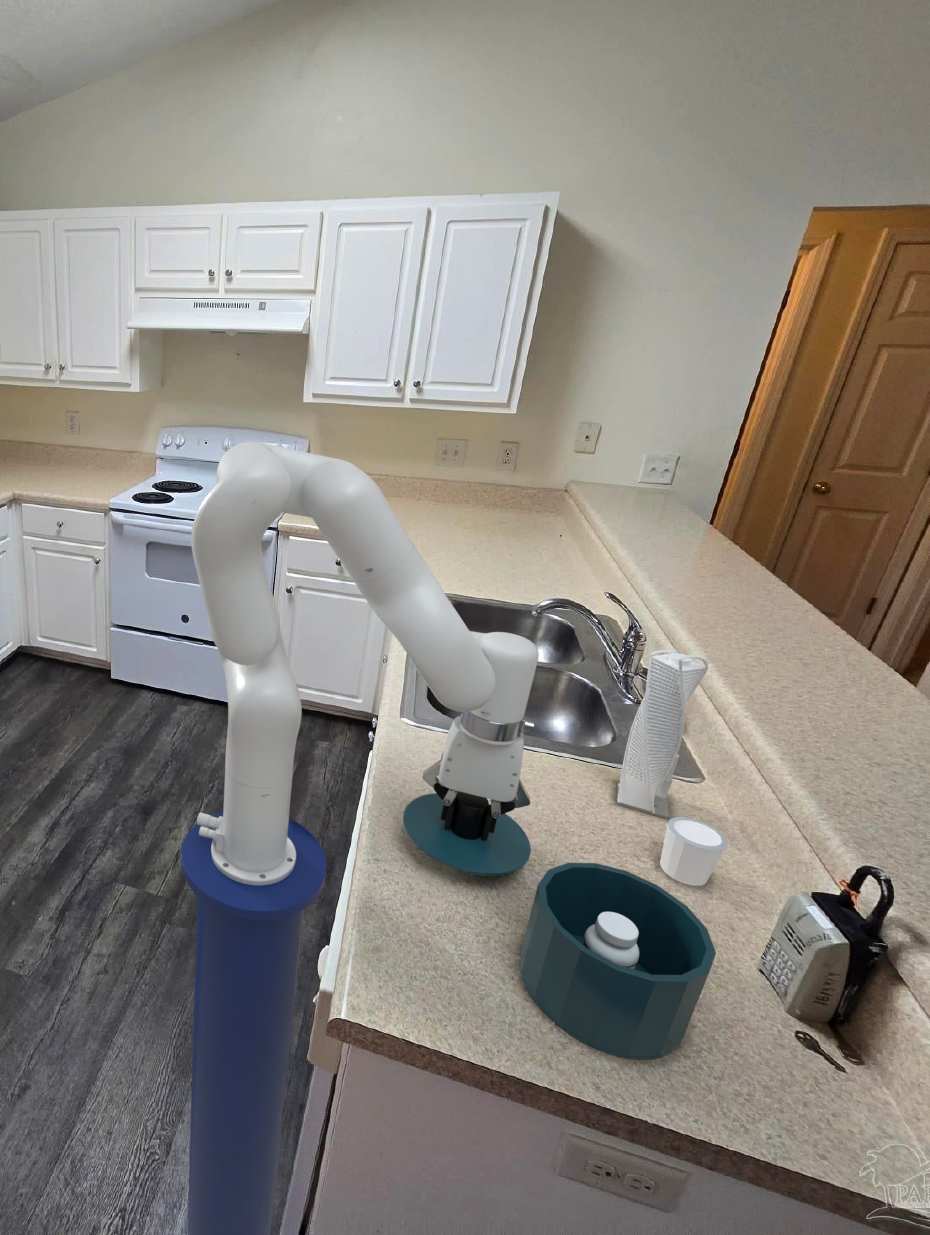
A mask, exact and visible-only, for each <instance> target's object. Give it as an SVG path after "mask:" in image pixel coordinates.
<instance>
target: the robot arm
mask: <svg viewBox="0 0 930 1235" xmlns="http://www.w3.org/2000/svg"><path fill="white" fill-rule="evenodd" d="M283 513H285V514H289V515H293V516H300V517H308V518H311V519H312V520H313V522H314V524H315V525H316V526H317V528H318V529H319V531H320V533H321V534H322V536H323V537H324V539H325V541H326V542H327V543H328V545H329V547H330V548H331V549H332V551H333V552H334V554H335V555H336V557H337V559H339V561H340V563H341V565H342V566H343V567H344V569H345V571H346V572H347V574H349V576H350V578H351V579H352V582H354V584H355V586H356V587H357V589H358V590H359V592H360V593H361V595H362V596H363V598H364V599H365V600H366V602H367V604H368V605H369V607H370V608H371V609H372V611H373V612H374V613H375V615H376V616H377V618H378V619H380V621H381V622H382V623H383V624H384V625H385V627H387V628H388V630H389V631H390V632H391V633H392V635H393V636H394V637H395V639H396V640H397V641H398V643H399V644H400V645H401V648H403V650H404V651H405V652H406V654H407V655H408V657H409V659H410V662H411V663H412V665H413V667H414V669H415V670H416V672H417V673H418V674H419V676H420V678H422V680H423V681H424V682H425V684H426V685H427V686H428V688H429V689H430V691H431V693H432V694H433V695H434V697H435V698H436V699H437V701H438V702H439V703H440V704H441V705H443V706H444V707H445V708H447V709H449V710H452V711H455V712H459V713H460V712H461V715H458V716H456V717H454V719H453V721H452V723H451V725H450V727H449V729H448V733H447V735H446V738H445V742H444V745H443V750H442V753H441V757H440V759H439V760H438V761H436V762H435V763H433V764H432V765H430V766H429V767H428V768H426V769H425V770H424V771H423V772H422V780H423V781H424V782H426V783H427V785H429V787H431V788H432V789H433V792H434V793H437V794H438V796H439V797H440V798H441V799H442V801H443V807H442V812H441V820H445V826H444V829H446V830H448V829H450V826H451V821H452V817H453V812H454V802H455V797H456V795H457V793H458V792H459V791H460V792H464V793H468V794H472V795H476V796H480V797H484V798H487V800H490V803H489V804H490V805H489V806H488V810H487V814H486V818H485V822H484V826H483V830H482V838H483V839H484V840H487V838H488V834H489V832H490V833H494V829H495V825H496V821H497V819H498V818H500V817H501V815H503V814H508V813H509V812H513V811H514V810H515V809H521V808H524V807H529V806H530V805H531V797H530V795H529V793H528V791H527V789H526V787H525V786H524V784H523V783H522V781H521V779H520V778H521V773H522V772H521V771H522V768H523V767H522V766H523V755H524V748H525V735H524V732H534V728H535V722H534V721H531V720H529V719H527V718H526V717H525V714H526V709H527V705H528V702H529V697H530V694H531V689H532V686H533V682H534V678H535V675H536V674H535V673H536V670H537V667H538V666H537V665H538V661H539V656H540V654H539V649H538V647H537V646H536V644H535V643H533V641H531V640H530V639H528V638H526V637H525V636H522V635H518V634H515V633H511V632H504V631H492V632H487V633H486V632H485V633H484V632H479V631H472V630H470V629H469V628H468V627H467V625H466V624H465V622H464V620H463V619H462V617H461V616H460V614H459V613H458V611H457V610H456V608H455V606H454V605H453V604H452V602H451V601H450V599H449V598H448V596H447V595H446V593H445V592H444V590H443V588H442V586H441V584H440V583H439V581H438V579H437V577H435V575H434V573H433V571H432V570H431V568H430V567H429V566H428V564H427V563H426V561H425V559H424V558H423V556H422V554H421V553H420V552H419V550H418V548H417V546H416V545H415V544H414V542H413V541H412V539H411V537H410V535H409V534H408V532H407V531H406V529H405V528H404V526H403V524H402V523H401V521H400V520H399V518H398V516H397V514H396V513H395V511H394V510H393V508H392V506H391V505H390V503H389V501H388V500H387V498H386V497H385V495H384V494H383V492H382V490H381V489H380V487H379V486H378V485H377V483H376V482H375V480H374V479H372V478H371V477H370V476H369V475H368V474H367V473H366V472H365V471H363V470H361V469H360V468H359V467H358V466H356V465H355V464H353V463H351V462H350V461H346V460H343V459H341V458H336V457H330V456H326V455H320V454H316V453H310V452H306V451H303V450H297V449H294V448H293V449H292V448H289V447H283V446H279V445H274V444H269V443H265V442H260V441H245V442H240V443H237V444H235V445H234V446H231V447H230V448H229V449H228V450H227V451H226V452H225V453H224V454H223V455H222V457H221V458H220V460H219V462H218V465H217V469H216V484H215V485H214V486H213V488H212V489H211V490H210V491H209V493H207V495H206V496H205V498H204V499H203V501H202V502H201V504H200V506H199V508H198V510H197V511H196V514H195V517H194V520H193V524H192V528H191V534H190V536H191V537H190V538H191V539H190V542H191V543H190V545H191V551H192V558H193V561H194V566H195V570H196V574H197V579H198V583H199V587H200V591H201V596H202V599H203V603H204V607H205V610H206V616H207V625H208V630H209V633H210V637H211V639H212V641H213V643H214V645H215V646H216V648H217V650H218V654H219V657H220V661H221V665H222V668H223V672H224V678H225V679H224V680H225V686H226V689H225V690H226V696H227V707H228V708H227V710H228V714H227V715H228V718H227V719H228V720H227V733H226V742H225V759H224V769H225V770H224V786H223V788H224V790H223V817H222V816H219V818H216V817H212V816H211V815H212V814H211V815H210V814H207V813H203V812H199V813H198V815H197V819H196V824H197V825H199V826H201V827H200V830H199V835H200V836H203V837H208V838H212V839H213V842H212V846H211V855H212V859H213V862H214V864H215V865H216V867H217V868H218V869H219V870H220V871H221V872H222V873H223V874H224V875H225V876H227V877H228V878H230V879H232V880H234V881H236V882H240V883H243V884H247V885H255V886H263V885H270V884H274V883H277V882H279V881H281V880H283V879H285V878H286V877H287V876H289V874H290V873H291V872H292V871H293V869H294V866H295V862H296V850H295V847H294V845H293V843H292V841H291V840H290V839H289V838H288V837H287V834H288V822H289V819H290V810H291V798H292V786H293V776H294V762H295V753H296V752H295V751H296V746H297V741H298V740H297V739H298V737H299V736H298V735H299V731H300V728H301V722H302V716H303V715H302V714H303V712H302V700H301V695H300V691H299V687H298V683H297V681H296V678H295V675H294V672H293V670H292V668H291V664H290V661H289V658H288V654H287V652H286V648H285V644H284V641H283V635H282V632H281V619H280V613H279V610H278V606H277V602H276V600H275V598H274V594H273V592H272V590H271V588H270V584H269V578H268V575H267V571H266V566H265V565H266V564H265V560H264V555H263V551H262V541H263V538H264V536H265V533H266V532H267V530H268V528H269V527H270V526H271V525H272V524H273V523H274V522H275V521H276V520H277V519H278V518H279V517H280V516H281V515H282V514H283ZM202 826H203V827H202ZM209 828H212V829H216V830H211V829H209Z"/></svg>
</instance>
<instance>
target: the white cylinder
mask: <svg viewBox="0 0 930 1235" xmlns="http://www.w3.org/2000/svg"><path fill="white" fill-rule="evenodd" d="M728 844H729V843H728V840H727V838H726V836H725V835H724V834H723V833H722V832H721V831H720V830H718V829H717V828H715V827H713V826H712V825H710V824H709V823H706V822H703V821H701V820H699V819H695V818H691V817H687V816H676V817H672V818H670V819H668V822H667V825H666V830H665V834H664V840H663V846H662V850H661V855H660V859H659V865H660V869H661V870H662V871H663V872H664V873H665V874H666V875H667V876H668V877H670V878H671V879H673V880H674V881H676V882H679V883H681V884H683V885H687V886H691V887H702V886H705V885H706V884H707V882H708V880H709V879H710V877H711V875H712V873H713V872H714V869H715V868H716V866H717V864H718V862H719V861H720V859H721V857H722V855H723V853H724V852H725V851H726V850H725V849H726V848H727V846H728Z"/></svg>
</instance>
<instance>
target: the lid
mask: <svg viewBox="0 0 930 1235" xmlns="http://www.w3.org/2000/svg"><path fill="white" fill-rule="evenodd" d="M490 804H491V803H490V802H489V799H488V798H484V797H480V796H476V795H472V794H468V793H464V792H460V791H458V793H457V795H456V797H455V802H454V812H453V817H452V821H451V826H450V829H448V830H446V829H444V826H445V820H441V812H442V807H443V801H442V799H441V798H440V797H439V796H438V794H437V793H436V792H434V793H428V794H427V793H426V794H423V795H420V796H418V797H416V798H413V800H411V801H410V802H409V803H408V804H407V805H406V806H405V808H404V811H403V815H402V823H403V827H404V830H405V832H406V834H407V836H408V838H410V840H411V841H412V843H413V844H414V845H415V846H416V847H417V848H419V850H420V851H422V852H423V853H424V854H426V855H427V856H428V857H430V858H432V859H433V860H435V861H437V862H438V863H440V864H442V865H444V866H446V867H448V868H451V869H454V870H457V871H460V872H464V873H466V874H471V875H477V876H484V877H485V876H487V877H500V876H507V875H510V874H513V873H516V872H518V871H519V870H521V869H523V867H525V866H526V865H527V863H528V862H529V860H530V856H531V852H532V850H531V843H530V840H529V838H528V835H527V834H526V832H525V831H524V829H523V828H522V827H521V825H520V824H519V823H518V822H516V820H514V819H513V818H512V816H509V815H508V813H505V814H503V815H501V817H500V818H498V819H497V821H496V825H495V829H494V833H490V832H489V834H488V838H487V840H484V839H483V838H482V830H483V826H484V822H485V818H486V814H487V810H488V806H489V805H490Z"/></svg>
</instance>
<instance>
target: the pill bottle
mask: <svg viewBox="0 0 930 1235" xmlns="http://www.w3.org/2000/svg"><path fill="white" fill-rule="evenodd" d="M638 935H639V932H638V929H637V927H636V926H635V924H634V923H633V922H632V921H631V920H629V919H628V918H626V917H625V916H623V915H621V914H618V913H614V912H603V913H601V914H599V916H598V918H597V921H596V923H595V924H594V925H591V926H590V927H589V928H588V929H587V930H586V932H585V935H584V939H583V942H582V945H584V946H585V947H586V948H588V949H590V950H592V951H593V952H595V953H597V954H599V955H601V956H603V957H605V958H606V959H608V960H610V961H612V962H614V963H616V964H617V965H621V966H624V967H628V968H631V969H634V970H635V967H636V964H637V961H638V958H639V948H638V946H637V944H636V942H637V938H638Z"/></svg>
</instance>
